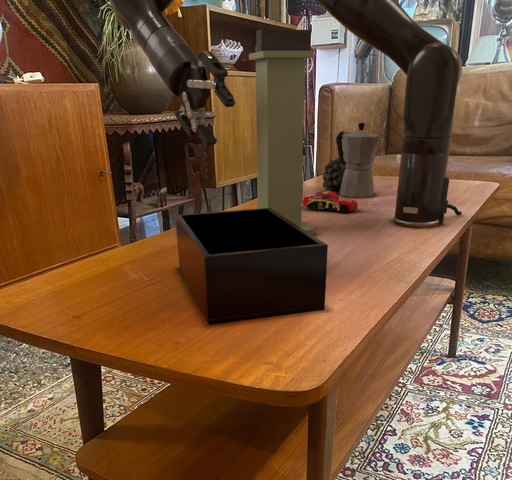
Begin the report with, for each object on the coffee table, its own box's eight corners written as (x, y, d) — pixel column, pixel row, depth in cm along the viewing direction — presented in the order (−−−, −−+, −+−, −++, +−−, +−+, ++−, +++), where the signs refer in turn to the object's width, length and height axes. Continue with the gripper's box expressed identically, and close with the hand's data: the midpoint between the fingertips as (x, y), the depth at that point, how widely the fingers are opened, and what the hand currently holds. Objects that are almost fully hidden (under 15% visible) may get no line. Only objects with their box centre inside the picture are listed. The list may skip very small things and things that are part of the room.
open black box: (179, 268, 85) (175, 214, 81) (270, 259, 88) (270, 207, 85) (208, 325, 64) (204, 257, 60) (324, 310, 68) (328, 245, 64)
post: (245, 226, 109) (242, 54, 95) (294, 222, 112) (298, 54, 98) (261, 240, 100) (259, 50, 86) (314, 235, 102) (320, 50, 88)
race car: (360, 210, 123) (361, 192, 121) (353, 214, 119) (354, 196, 117) (308, 205, 128) (309, 188, 127) (300, 209, 124) (300, 192, 122)
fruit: (335, 160, 134) (352, 152, 146) (307, 169, 139) (325, 161, 151) (344, 193, 137) (359, 182, 149) (315, 200, 141) (333, 190, 153)
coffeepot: (387, 196, 137) (394, 122, 129) (361, 200, 132) (367, 124, 124) (346, 188, 149) (350, 120, 141) (321, 192, 144) (324, 122, 136)
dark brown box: (237, 56, 101) (237, 37, 100) (281, 56, 104) (281, 37, 102) (261, 51, 88) (261, 29, 86) (310, 51, 90) (311, 29, 88)
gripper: (203, 25, 92) (253, 90, 89) (178, 92, 103) (222, 152, 100) (169, 23, 88) (221, 92, 85) (146, 94, 99) (191, 157, 96)
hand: (221, 125), depth 93 cm, fingers open, 8 cm apart
